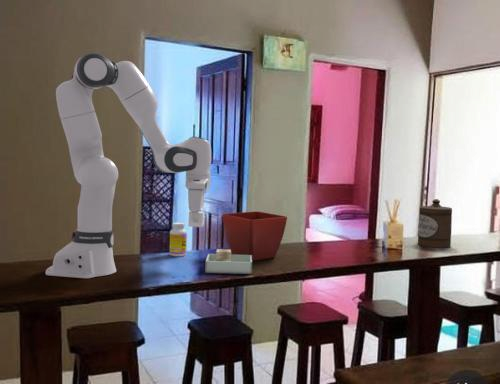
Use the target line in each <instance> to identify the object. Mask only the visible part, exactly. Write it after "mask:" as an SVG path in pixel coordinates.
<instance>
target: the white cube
mask: <svg viewBox="0 0 500 384" xmlns="http://www.w3.org/2000/svg"><path fill="white" fill-rule="evenodd" d="M204 222H205V211H199V214H198V222H197V223H194V222H193V214H192V211H190V210H189V212H188V225H187V226H188V227H189V228H190V227H193V228H203V227H204V225H205V223H204Z"/></svg>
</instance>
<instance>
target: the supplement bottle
mask: <svg viewBox="0 0 500 384" xmlns="http://www.w3.org/2000/svg"><path fill="white" fill-rule="evenodd" d="M187 235H188V232H187V230H186V229H185V222H172V229H170V231H169V255H170V256H171V257H185V256H187V241H188V240H187V239H188V236H187Z"/></svg>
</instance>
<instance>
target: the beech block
mask: <svg viewBox="0 0 500 384" xmlns="http://www.w3.org/2000/svg"><path fill="white" fill-rule="evenodd" d="M215 254H216V261H227V262H231V254H232V253H231V250H230V248H229V249H228V248H227V249H225V248H224V249H221V248H219V249H218V248H216V253H215Z"/></svg>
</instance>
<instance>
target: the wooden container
mask: <svg viewBox="0 0 500 384" xmlns="http://www.w3.org/2000/svg"><path fill="white" fill-rule="evenodd" d="M440 203H441V200H439V199H436V198H435V199H433V200H432V204H430V205H421V206H419V215H418V216H419V219H418V228H417V229H418V230H417V232H418V233H417V234H418V235H417V236H418V237H417V244H418V245H419V246H423V247H426V248H427V247H428V248H435V249H436V248H439V249H443V248H444V249H445V248H450V247H451V244H452V226H453V225H452V221H453V220H452V219H453V216H452V214H453V208H452V207H449V206H442V205H441V204H440Z"/></svg>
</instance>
